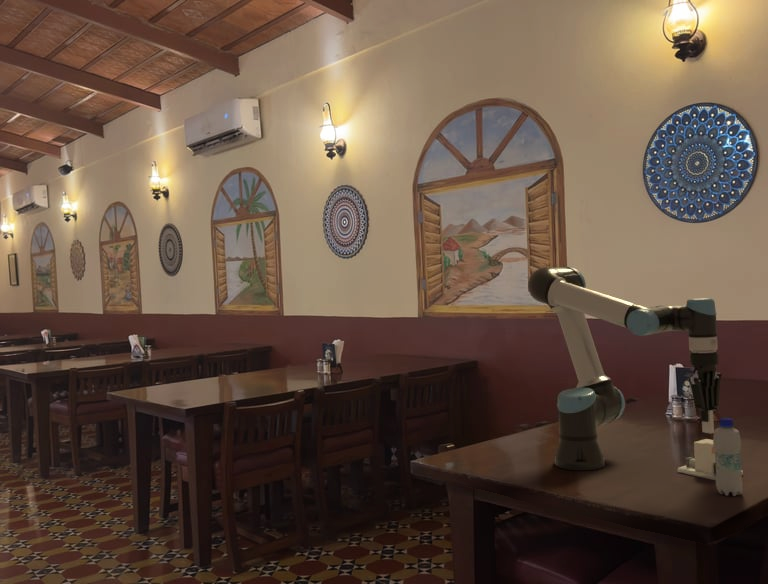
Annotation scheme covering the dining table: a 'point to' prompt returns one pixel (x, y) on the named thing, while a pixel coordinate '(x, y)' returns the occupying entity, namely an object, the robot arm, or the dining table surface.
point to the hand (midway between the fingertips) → (708, 432)
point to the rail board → (691, 470)
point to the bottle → (727, 458)
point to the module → (704, 455)
